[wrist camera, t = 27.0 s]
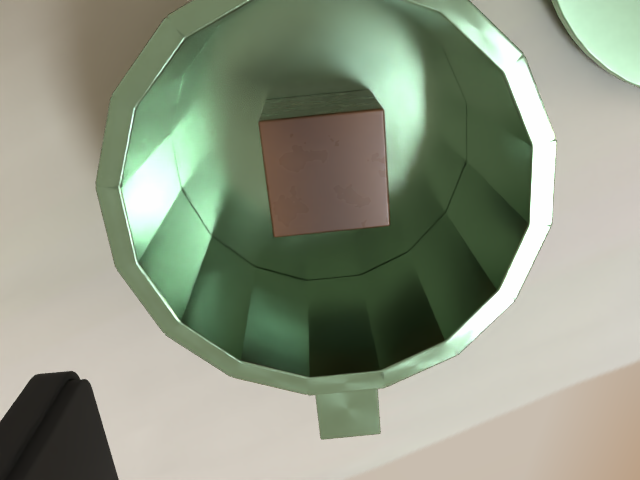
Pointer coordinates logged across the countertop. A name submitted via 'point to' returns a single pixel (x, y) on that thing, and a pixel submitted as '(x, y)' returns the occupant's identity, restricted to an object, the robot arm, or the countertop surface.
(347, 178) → the block
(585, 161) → the countertop surface
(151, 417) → the countertop surface
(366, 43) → the pot
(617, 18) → the pot lid
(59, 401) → the robot arm
